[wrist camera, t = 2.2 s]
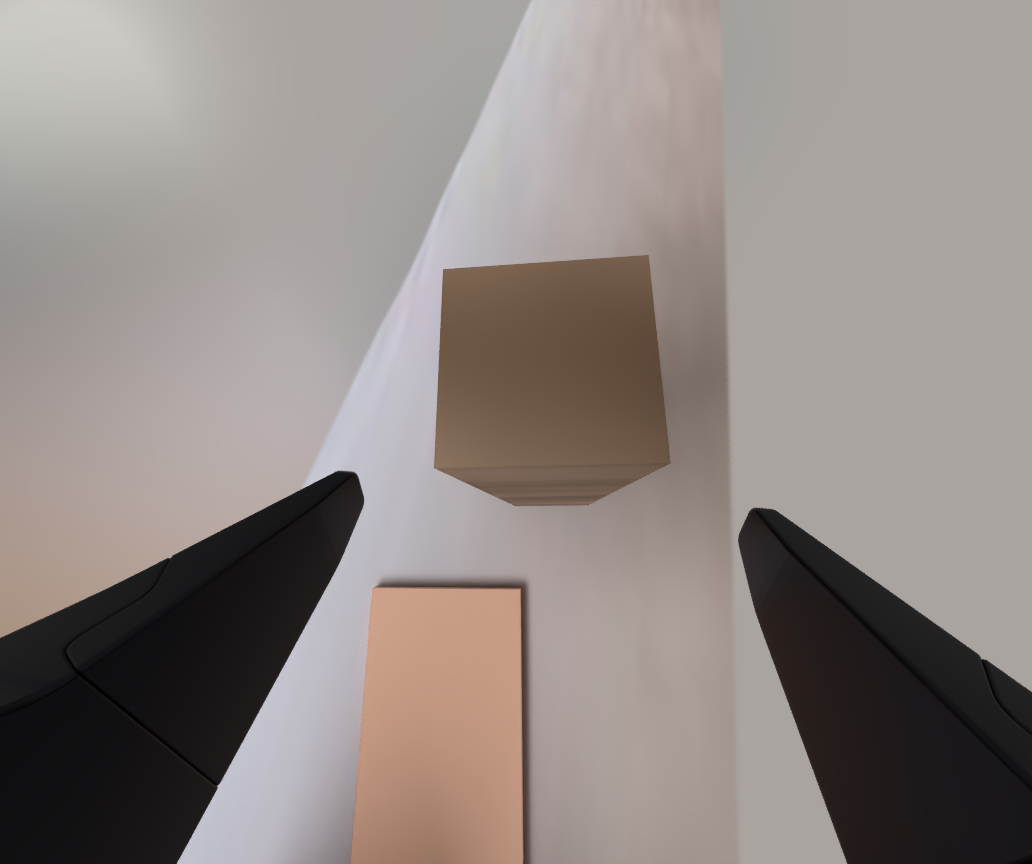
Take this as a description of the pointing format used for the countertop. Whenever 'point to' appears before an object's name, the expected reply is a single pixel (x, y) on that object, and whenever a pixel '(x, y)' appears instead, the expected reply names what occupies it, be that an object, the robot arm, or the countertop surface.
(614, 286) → the walnut post
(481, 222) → the countertop surface
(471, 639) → the mat
